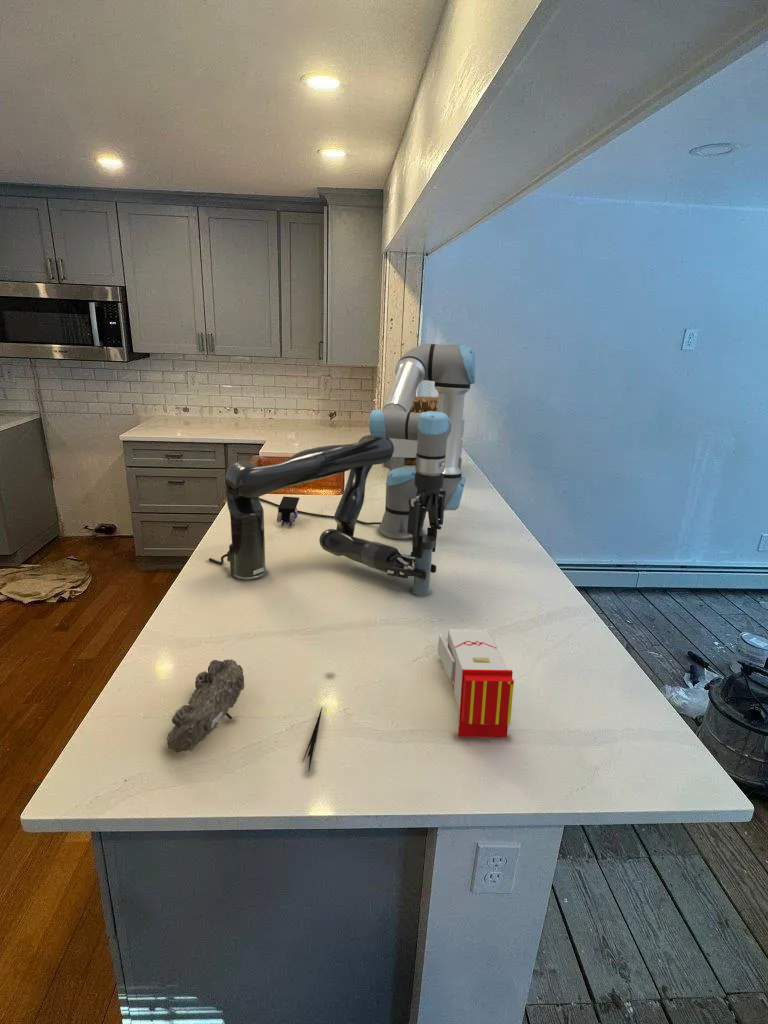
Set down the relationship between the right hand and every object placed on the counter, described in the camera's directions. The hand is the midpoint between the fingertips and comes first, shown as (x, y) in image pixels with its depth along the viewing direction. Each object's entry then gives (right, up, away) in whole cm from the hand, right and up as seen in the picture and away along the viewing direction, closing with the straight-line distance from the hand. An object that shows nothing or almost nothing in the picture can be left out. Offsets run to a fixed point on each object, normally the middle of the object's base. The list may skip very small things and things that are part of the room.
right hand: (423, 553), depth 156 cm
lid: (0, +4, -1) cm, 4 cm away
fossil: (-44, -28, -48) cm, 70 cm away
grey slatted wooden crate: (+6, +30, +119) cm, 123 cm away
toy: (+7, -26, -37) cm, 46 cm away
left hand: (+2, -5, 0) cm, 6 cm away
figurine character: (-46, +8, +51) cm, 69 cm away
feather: (-23, -28, -47) cm, 60 cm away
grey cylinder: (0, -11, +4) cm, 12 cm away
